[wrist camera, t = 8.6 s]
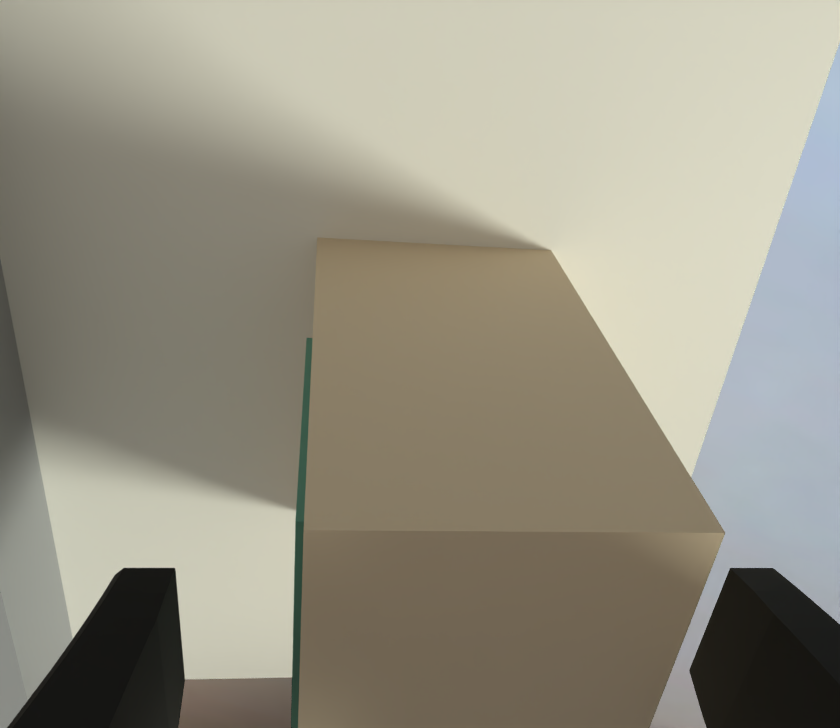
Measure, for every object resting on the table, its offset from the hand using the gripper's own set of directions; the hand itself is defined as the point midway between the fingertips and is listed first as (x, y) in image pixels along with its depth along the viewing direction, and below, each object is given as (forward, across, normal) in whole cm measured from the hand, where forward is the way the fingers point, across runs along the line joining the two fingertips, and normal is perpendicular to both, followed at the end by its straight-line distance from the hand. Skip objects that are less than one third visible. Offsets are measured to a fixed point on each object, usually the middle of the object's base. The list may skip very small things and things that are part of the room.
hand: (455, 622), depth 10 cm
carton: (+5, 0, 0) cm, 5 cm away
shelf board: (+6, +1, 0) cm, 7 cm away
